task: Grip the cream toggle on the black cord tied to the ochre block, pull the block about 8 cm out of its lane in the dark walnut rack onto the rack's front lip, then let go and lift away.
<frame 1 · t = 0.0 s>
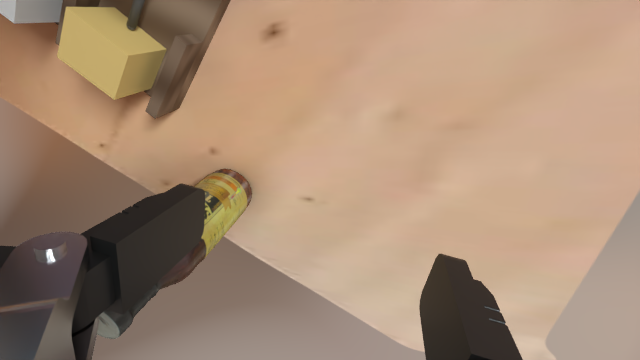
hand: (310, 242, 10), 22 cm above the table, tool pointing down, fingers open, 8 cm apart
sauce bottle: (231, 186, 39), on the table
ochre block: (123, 11, 26), point 4 cm above the table, slide at 0.0 cm
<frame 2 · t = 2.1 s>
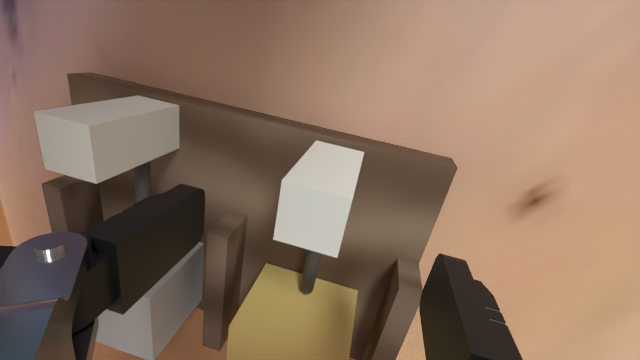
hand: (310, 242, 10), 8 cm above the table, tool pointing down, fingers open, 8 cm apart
ochre block: (304, 285, 16), point 4 cm above the table, slide at 0.0 cm
white block with handle: (128, 229, 17), point 4 cm above the table
lane rack: (246, 221, 20), on the table
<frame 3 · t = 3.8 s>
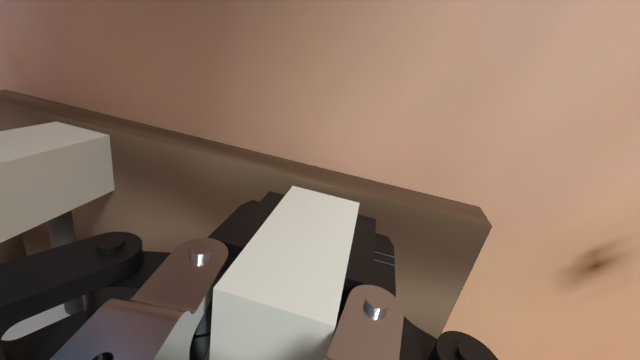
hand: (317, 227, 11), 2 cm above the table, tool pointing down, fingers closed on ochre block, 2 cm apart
white block with handle: (42, 301, 13), point 4 cm above the table
lane rack: (211, 277, 16), on the table
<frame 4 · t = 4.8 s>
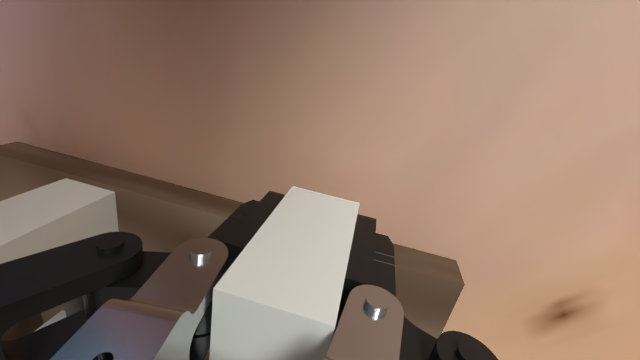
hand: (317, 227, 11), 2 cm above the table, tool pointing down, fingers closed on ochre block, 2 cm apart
white block with handle: (52, 344, 14), point 4 cm above the table
lane rack: (209, 313, 17), on the table
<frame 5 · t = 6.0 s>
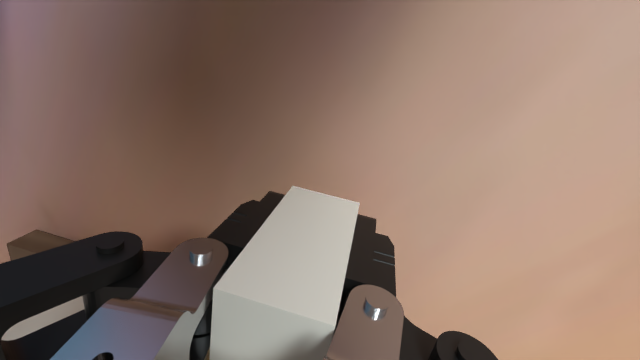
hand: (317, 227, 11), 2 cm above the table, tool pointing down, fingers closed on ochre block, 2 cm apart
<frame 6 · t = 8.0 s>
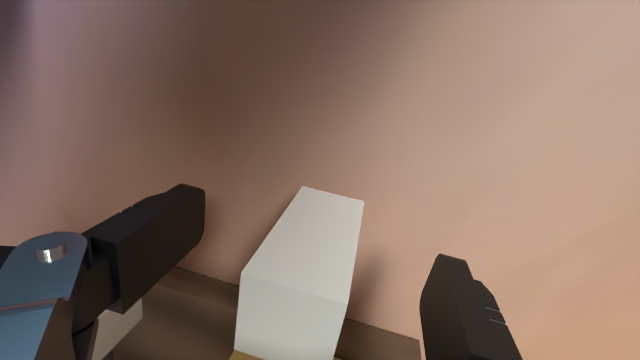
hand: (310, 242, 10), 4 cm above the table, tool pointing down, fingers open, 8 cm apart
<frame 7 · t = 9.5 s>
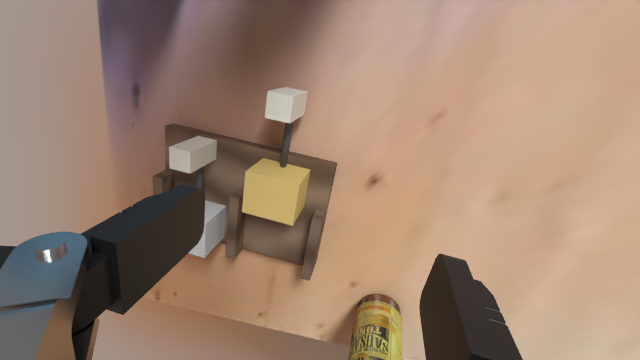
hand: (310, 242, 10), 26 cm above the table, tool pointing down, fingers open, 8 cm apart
sauce bottle: (377, 308, 43), on the table
ochre block: (280, 155, 33), point 4 cm above the table, slide at 8.0 cm
white block with handle: (193, 196, 37), point 4 cm above the table
lane rack: (247, 195, 41), on the table
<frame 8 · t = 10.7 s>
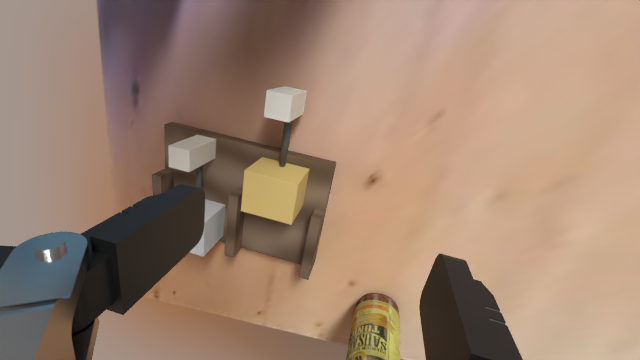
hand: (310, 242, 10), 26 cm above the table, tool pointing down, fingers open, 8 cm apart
sauce bottle: (376, 307, 43), on the table
ochre block: (280, 154, 33), point 4 cm above the table, slide at 8.0 cm
white block with handle: (192, 194, 37), point 4 cm above the table
lane rack: (246, 194, 41), on the table
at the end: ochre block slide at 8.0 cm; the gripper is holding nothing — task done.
